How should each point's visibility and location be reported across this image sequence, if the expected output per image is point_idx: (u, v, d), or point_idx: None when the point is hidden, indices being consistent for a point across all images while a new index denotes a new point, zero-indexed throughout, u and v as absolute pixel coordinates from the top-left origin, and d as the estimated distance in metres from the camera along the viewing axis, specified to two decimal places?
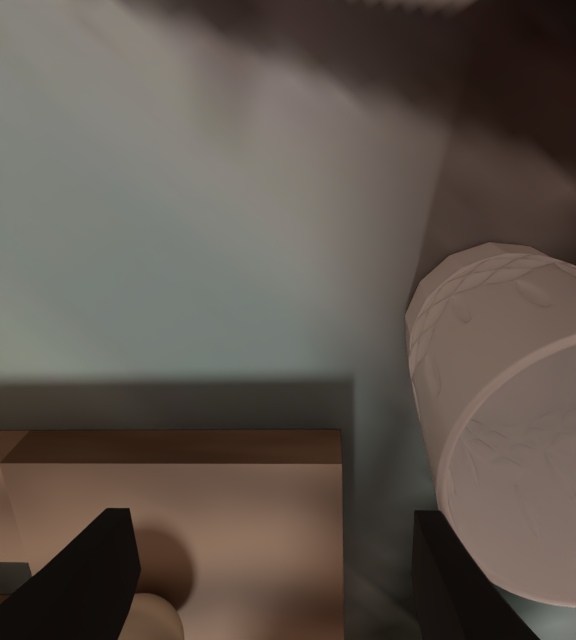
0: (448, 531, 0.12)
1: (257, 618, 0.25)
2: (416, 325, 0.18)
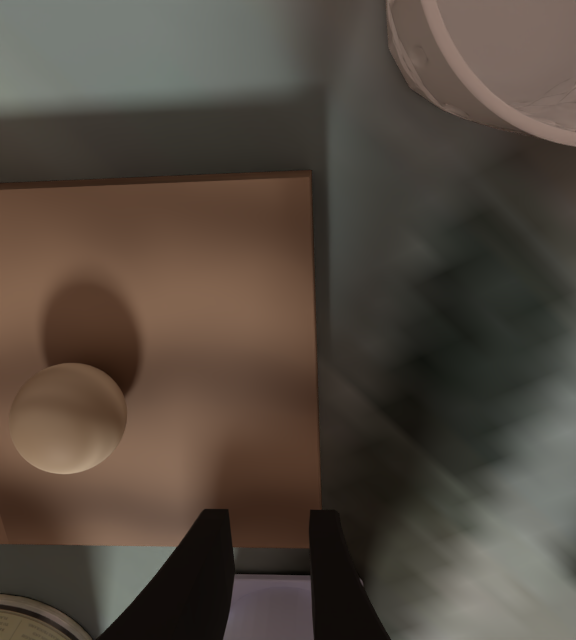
0: (334, 530, 0.12)
1: (216, 406, 0.21)
2: None
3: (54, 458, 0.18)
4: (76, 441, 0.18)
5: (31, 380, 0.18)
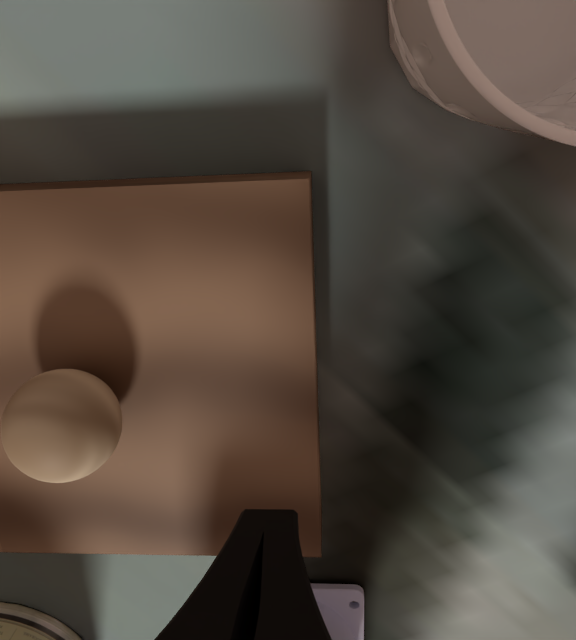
0: (289, 530, 0.12)
1: (213, 412, 0.21)
2: None
3: (47, 467, 0.17)
4: (69, 450, 0.17)
5: (23, 387, 0.18)
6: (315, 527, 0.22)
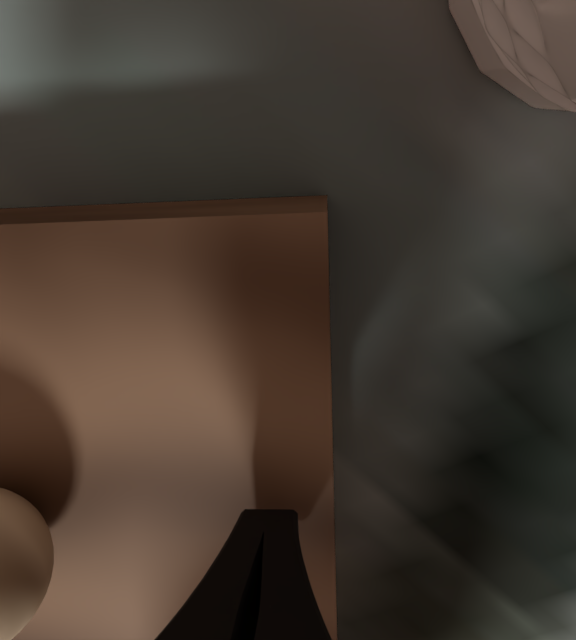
0: (289, 529, 0.12)
1: (188, 535, 0.15)
2: None
3: None
4: None
5: None
6: None
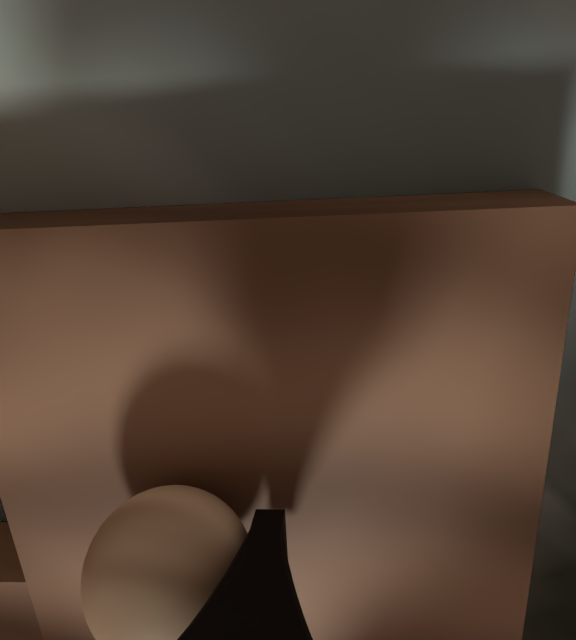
0: (275, 529, 0.12)
1: (382, 538, 0.14)
2: None
3: None
4: None
5: (117, 522, 0.12)
6: None
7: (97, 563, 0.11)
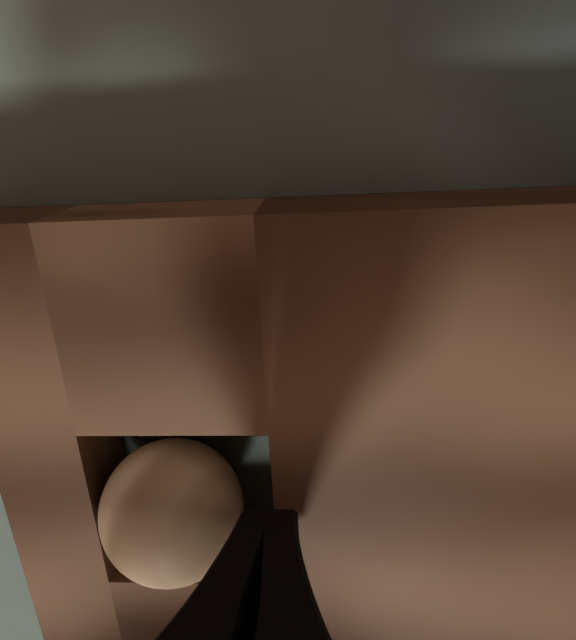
0: (289, 529, 0.12)
1: None
2: None
3: None
4: (242, 503, 0.15)
5: (149, 492, 0.13)
6: None
7: (169, 521, 0.13)
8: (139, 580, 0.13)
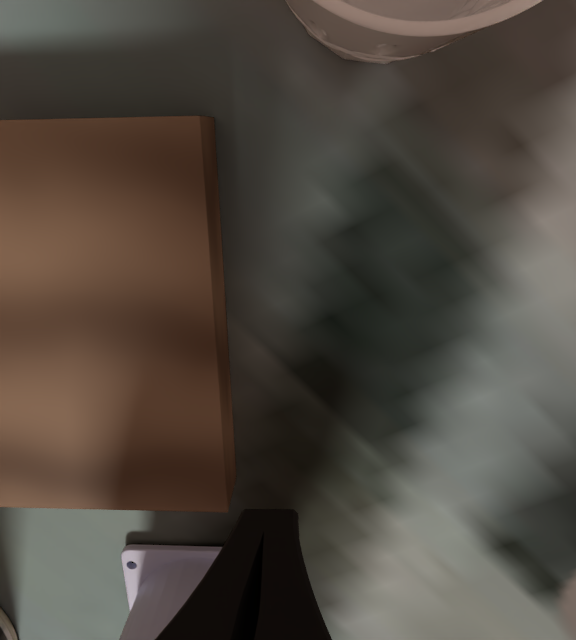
0: (289, 529, 0.12)
1: (114, 357, 0.21)
2: None
3: None
4: None
5: None
6: (220, 480, 0.22)
7: None
8: None
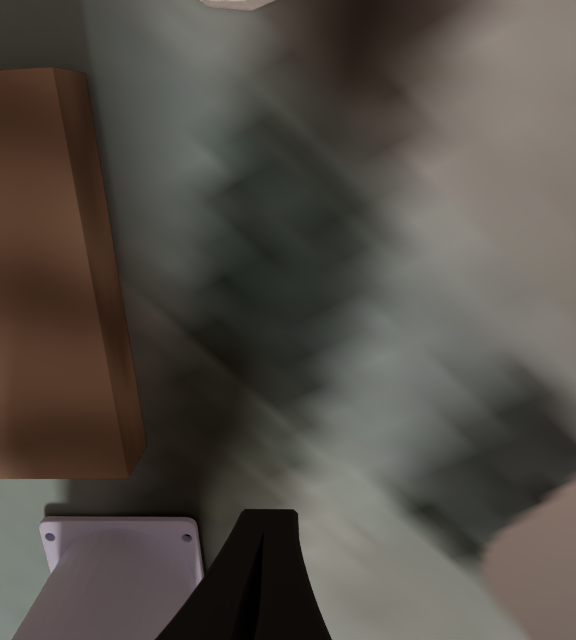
0: (289, 529, 0.12)
1: None
2: None
3: None
4: None
5: None
6: (117, 445, 0.22)
7: None
8: None
